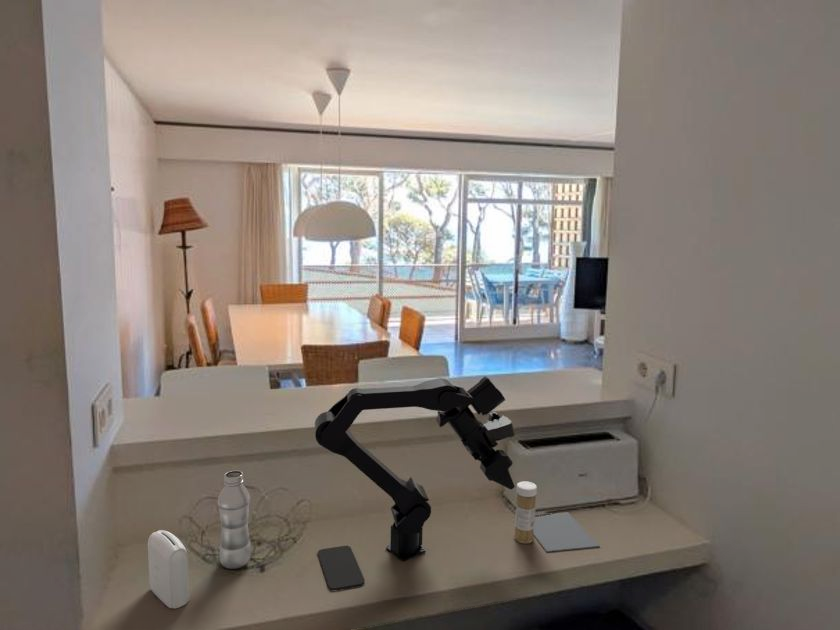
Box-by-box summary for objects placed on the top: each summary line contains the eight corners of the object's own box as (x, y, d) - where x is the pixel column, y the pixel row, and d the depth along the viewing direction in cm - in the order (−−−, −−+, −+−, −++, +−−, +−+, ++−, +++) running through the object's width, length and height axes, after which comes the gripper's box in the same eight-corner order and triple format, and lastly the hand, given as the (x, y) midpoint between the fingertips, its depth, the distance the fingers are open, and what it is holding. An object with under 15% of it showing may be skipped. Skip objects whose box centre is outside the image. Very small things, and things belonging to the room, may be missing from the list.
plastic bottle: (257, 558, 127) (256, 469, 124) (240, 576, 120) (238, 483, 117) (231, 553, 128) (229, 465, 125) (212, 570, 122) (209, 478, 119)
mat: (546, 552, 132) (546, 551, 132) (519, 517, 148) (519, 516, 148) (599, 546, 135) (599, 545, 135) (567, 513, 150) (567, 512, 150)
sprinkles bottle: (522, 532, 141) (525, 478, 138) (537, 540, 137) (541, 485, 135) (509, 538, 138) (512, 483, 136) (524, 546, 134) (528, 491, 132)
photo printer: (146, 588, 115) (143, 529, 113) (168, 579, 119) (166, 521, 117) (170, 613, 108) (167, 550, 107) (192, 602, 112) (190, 541, 110)
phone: (349, 544, 132) (366, 582, 118) (349, 548, 133) (366, 586, 119) (316, 549, 130) (329, 589, 116) (316, 553, 130) (329, 593, 116)
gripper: (511, 419, 121) (550, 474, 125) (484, 393, 139) (519, 442, 143) (468, 452, 120) (509, 507, 124) (446, 422, 138) (482, 470, 142)
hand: (505, 479), depth 133 cm, fingers open, 9 cm apart
